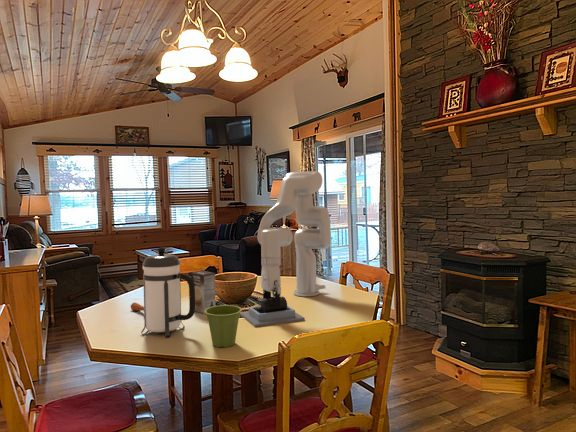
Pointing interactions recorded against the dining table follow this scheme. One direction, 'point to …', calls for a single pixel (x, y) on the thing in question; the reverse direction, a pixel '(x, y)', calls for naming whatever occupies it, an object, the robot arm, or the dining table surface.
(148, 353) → the dining table surface
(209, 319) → the plant pot
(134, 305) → the kendama
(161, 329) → the coffee press
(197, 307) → the coffee box
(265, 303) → the black lumpy block
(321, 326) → the dining table surface
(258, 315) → the tray
